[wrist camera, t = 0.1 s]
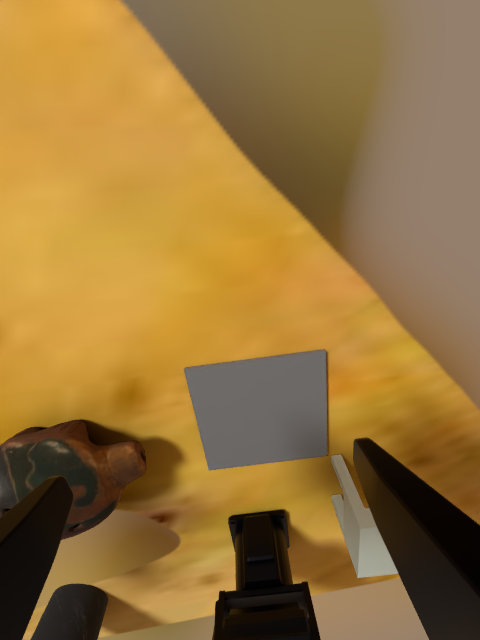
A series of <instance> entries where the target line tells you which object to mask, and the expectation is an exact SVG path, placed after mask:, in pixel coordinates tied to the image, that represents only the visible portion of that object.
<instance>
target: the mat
mask: <svg viewBox="0 0 480 640" xmlns="http://www.w3.org/2000/svg"><path fill="white" fill-rule="evenodd" d="M184 372H185V376H186V380H187V384H188V388H189V392H190V396H191V400H192V404H193V408H194V412H195V416H196V420H197V424H198V428H199V432H200V436H201V440H202V444H203V448H204V452H205V456H206V460H207V464H208V468H209V470H216V469H225V468H233V467H241V466H249V465H257V464H265V463H273V462H282V461H290V460H298V459H306V458H314V457H322V456H328V449H327V387H326V351H325V349H323V350H316V351H308V352H301V353H293V354H285V355H278V356H270V357H263V358H255V359H247V360H240V361H232V362H225V363H217V364H209V365H202V366H194V367H187V368H185V369H184Z"/></svg>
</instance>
